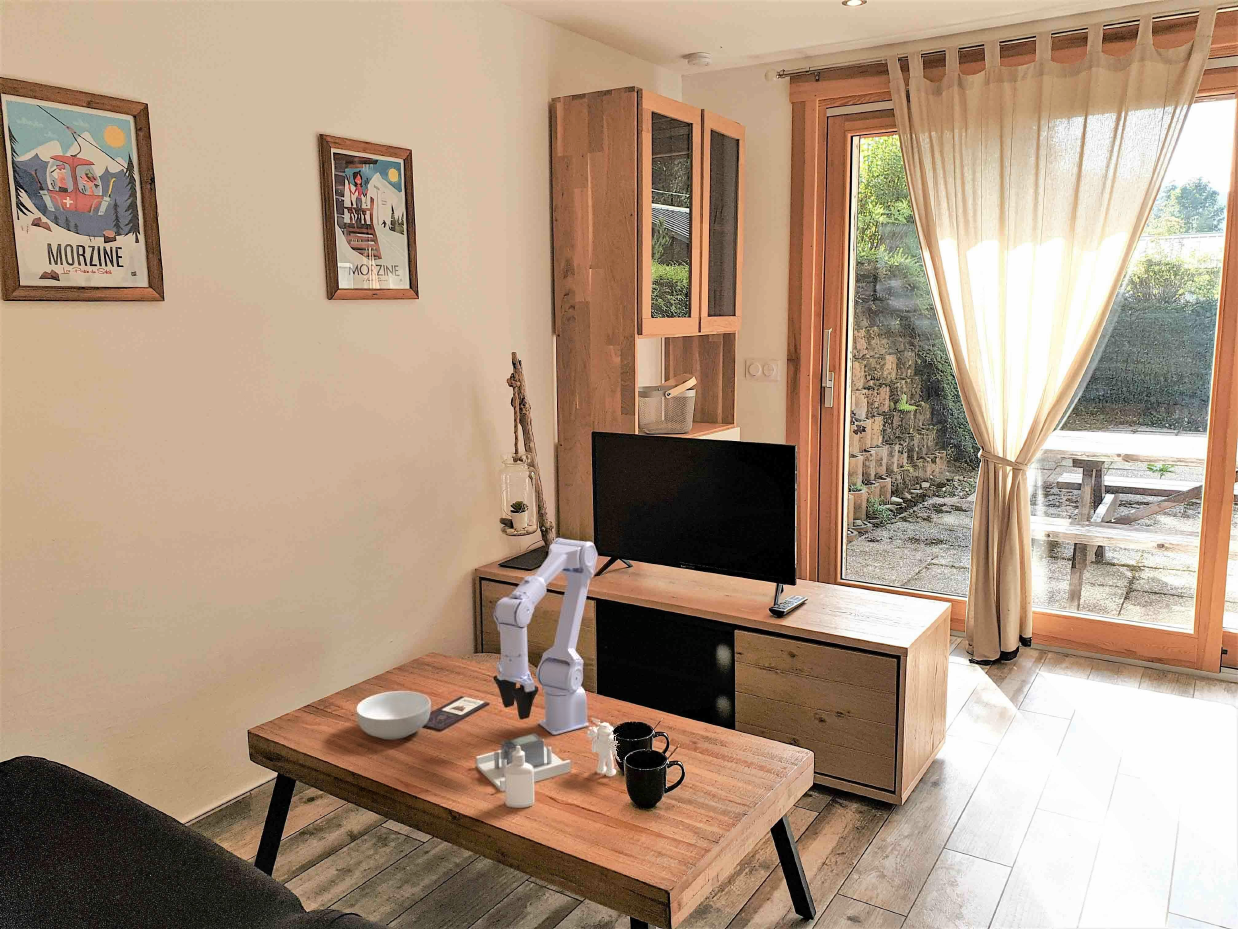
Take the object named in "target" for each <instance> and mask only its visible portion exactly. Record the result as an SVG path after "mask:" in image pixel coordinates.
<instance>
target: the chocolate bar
mask: <svg viewBox="0 0 1238 929" xmlns="http://www.w3.org/2000/svg"><path fill="white" fill-rule="evenodd" d="M488 706H490V702H487V701H484V700H483V701H482V700H478V699H475V698H472V697H471V698H470V697H466V696H462V695H460V696H459V697H457V698H455V699H453V700H451V701H450V702H447V703H445V704H444V705H442V706H440V707H438V708H436V709H434V710H431V711H430V716H429V719H428V721H427V722H426V724H425V725H424V726H423V727H422V728H425V729H429V730H433V731H436V732H443V731H446V730H448V729H449V728H451V727H452V726H455V725H456V724H458V723H459V722H462V721H463V720H465V719H466V718H468V717H470V716H472V715H474V714H475V713H477V712H480V711H482V710H483V709H484V708H486V707H488Z"/></svg>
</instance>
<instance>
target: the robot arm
mask: <svg viewBox="0 0 1238 929" xmlns="http://www.w3.org/2000/svg"><path fill="white" fill-rule="evenodd" d="M597 560H598V551H597V549H596V546H595V544H594V543H593V542H592V541H582V540H581V541H580V540H575V539H565V538H562V537H557V538H556V539H554V540H553V541H552V543H551V545H549V547H548V555H547V557H546V558H545V560H544V562H542V564H541V566H540V567H539V569H538V570H537V571H536V573H535V574H534V575H528V576H525V577H524V578H523V580H522V581H521V582H520V583H519V584H518V586H517V587H516V588H515V589H514V590H513V591H512V592H511V594H510V595H509V596H508V597H505V596H504V597H503V598H501V599H500V600H498V601H497V602H496V605H495V607H494V612H493V619H494V622H495V623H496V625H497V631H498V632H499V634H500V638H499V640H500V658H501V662H496V672H498V674H497V675H496V674H495V675H493V677H492V678H493V681H494V682H495V684H496V686H497V688H498V690H499V694H500V697H501V698H500V699H501V701H502V704H503V707H504V709H506V708H510V707H514V705H515V704H516V709H517V714H518V718H519V720H520V721H522V720H526V719H529V718H530V716H531V711H532V708H533V703H534V700H535V698H536V695H537V694H538V692H539V687H538V686H537V685H536V684H535V681H534V680H533V678H532V675H531V673H530V670H529V657H528V655H529V654H528V651H529V650H528V630H527V629H528V626H527V625H529V624H530V623H531V620H532V618H533V617H532V616H533V613H534V612H535V607H536V606H537V605H538V604H539V602H540V601H541V600H542V599H543V598H544V597H545V596H546V594H547V585H548V584H549V583H550V582H552V580H553V579H555V577H558V575H559V574H561V575H563V576H564V578H565V579H566V584H565V585H566V586H565V591H564V595H563V600H562V604H561V608H560V609H561V610H560V613H559V619H558V623H557V627H556V628H557V629H556V631H555V636H554V637H555V638H554V643H553V645H552V647H550V648H549V649H547V650H545V651H544V652H543V653H542V657H541V660H540V662H539V664H538V666H537V669H536V674H535V676H536V681H537V683H538V684H539V686H541V691H544V715H545V716H544V717H545V718H544V720H540V721H538V725H539V726H541V727H542V728H544V729H545V730H546V731H548V732H549V733H550V734H551V735H554V736H555V735H560V734H563V733H567V732H571V731H575V730H578V729H582V728H586V727H589V726H590V725H589V722H588V701H587V700H588V699H587V695H586V692H585V689H584V687H583V686H582V683H583V679H584V673H583V672H584V670H583V668H584V659H583V658H582V657H581V656H580V655H579V654H578V652H577V651H576V649H577V644H578V639H579V634H580V629H581V624H582V619H583V614H584V610H585V605H586V602H587V601H586V600H587V596H588V591H589V585H590V581H591V579H592V578H594V573H595V570H596V566H597ZM558 660H559V661H558ZM561 661H566V662H561ZM517 684H518V685H519V687H517ZM515 702H516V703H515Z"/></svg>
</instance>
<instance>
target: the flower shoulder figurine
mask: <svg viewBox="0 0 1238 929" xmlns="http://www.w3.org/2000/svg"><path fill="white" fill-rule="evenodd" d="M590 719H591V720H592V723H595V726H592V727H588V729H589V730H586V736H587V739H588V740H589V741H591V752H592V753H597V754H598V765H597V770H596V773H597V774H599V775H600V774H605V776H606V777H613V776H615V775H616V774H617V770H616V769H615V767H614V758H613V754H614V756H615V758H616V759H617V760H618V762H620V763H621V761H620V759H619V757H618V756H617V751H616V749H617V746H618V745H619V744H617V743H618V741H616V737H615V741H614V736H616V735H617V734H618V733H616V734H614V732H613V730H614V727H613V726H612V725H610V724H609V723H608V722H602V723H601V720H600V719H597V718H594V717H590ZM597 725H598V726H597ZM596 726H597V727H596ZM615 745H616V746H615Z"/></svg>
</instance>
